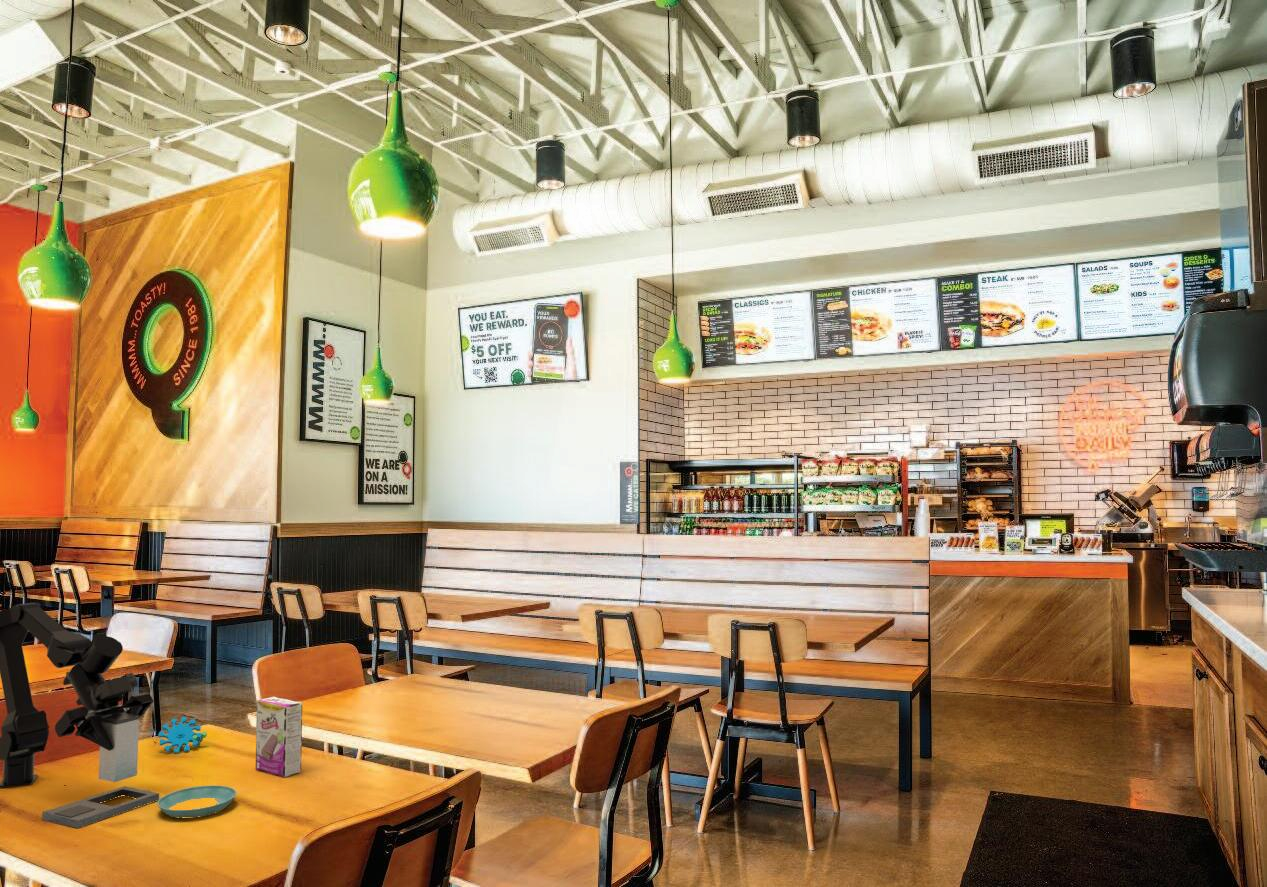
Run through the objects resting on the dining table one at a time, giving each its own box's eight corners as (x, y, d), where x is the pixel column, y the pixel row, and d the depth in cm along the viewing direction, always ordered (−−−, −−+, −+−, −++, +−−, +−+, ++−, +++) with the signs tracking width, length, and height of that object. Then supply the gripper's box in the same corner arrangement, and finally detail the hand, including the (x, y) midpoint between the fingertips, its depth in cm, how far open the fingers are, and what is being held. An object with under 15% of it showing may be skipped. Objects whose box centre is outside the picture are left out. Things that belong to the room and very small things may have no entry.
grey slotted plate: (42, 819, 177) (42, 811, 177) (124, 793, 193) (124, 785, 193) (77, 828, 172) (78, 820, 172) (159, 800, 188) (159, 792, 188)
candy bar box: (253, 770, 209) (255, 699, 210) (272, 765, 213) (274, 695, 214) (283, 778, 203) (285, 705, 204) (302, 772, 207) (303, 701, 208)
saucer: (139, 817, 179) (140, 804, 179) (198, 794, 193) (198, 782, 193) (195, 827, 174) (196, 813, 174) (252, 802, 188) (252, 790, 188)
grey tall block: (98, 778, 184) (101, 718, 185) (121, 772, 189) (123, 712, 190) (114, 782, 182) (117, 720, 183) (136, 775, 187) (139, 715, 188)
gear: (153, 749, 219) (163, 714, 227) (153, 762, 223) (162, 727, 230) (202, 751, 223) (210, 716, 231) (201, 764, 227) (209, 729, 234)
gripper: (66, 670, 180) (99, 732, 175) (149, 655, 197) (182, 711, 192) (40, 705, 183) (72, 767, 178) (124, 688, 200) (156, 743, 195)
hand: (123, 745), depth 186 cm, fingers closed on grey tall block, 5 cm apart
